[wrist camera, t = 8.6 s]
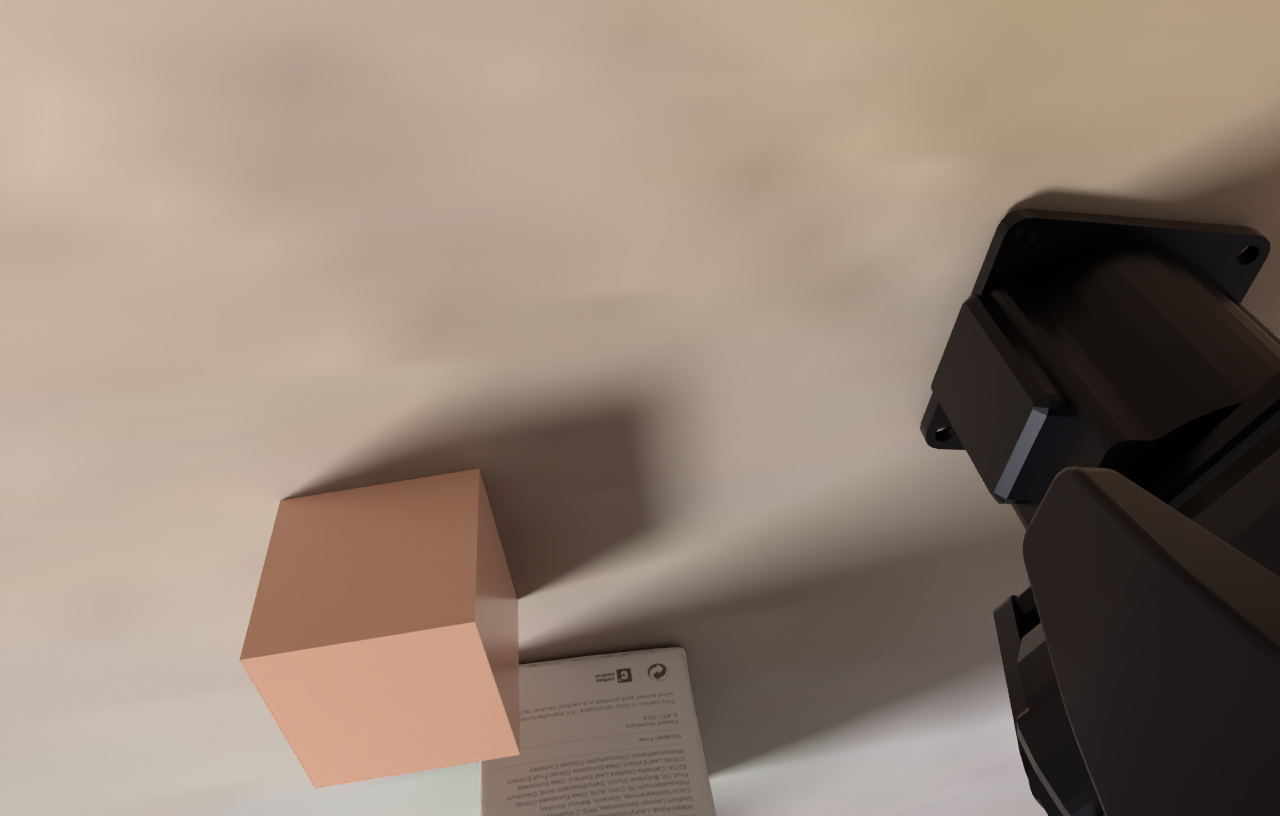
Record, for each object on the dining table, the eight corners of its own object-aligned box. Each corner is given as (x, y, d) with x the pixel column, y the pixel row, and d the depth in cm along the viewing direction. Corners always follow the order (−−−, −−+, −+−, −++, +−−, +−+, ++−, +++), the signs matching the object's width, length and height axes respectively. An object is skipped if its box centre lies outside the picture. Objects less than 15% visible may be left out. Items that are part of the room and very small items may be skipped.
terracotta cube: (479, 466, 25) (475, 621, 21) (517, 597, 28) (520, 754, 24) (281, 498, 25) (239, 659, 21) (341, 626, 28) (315, 788, 24)
